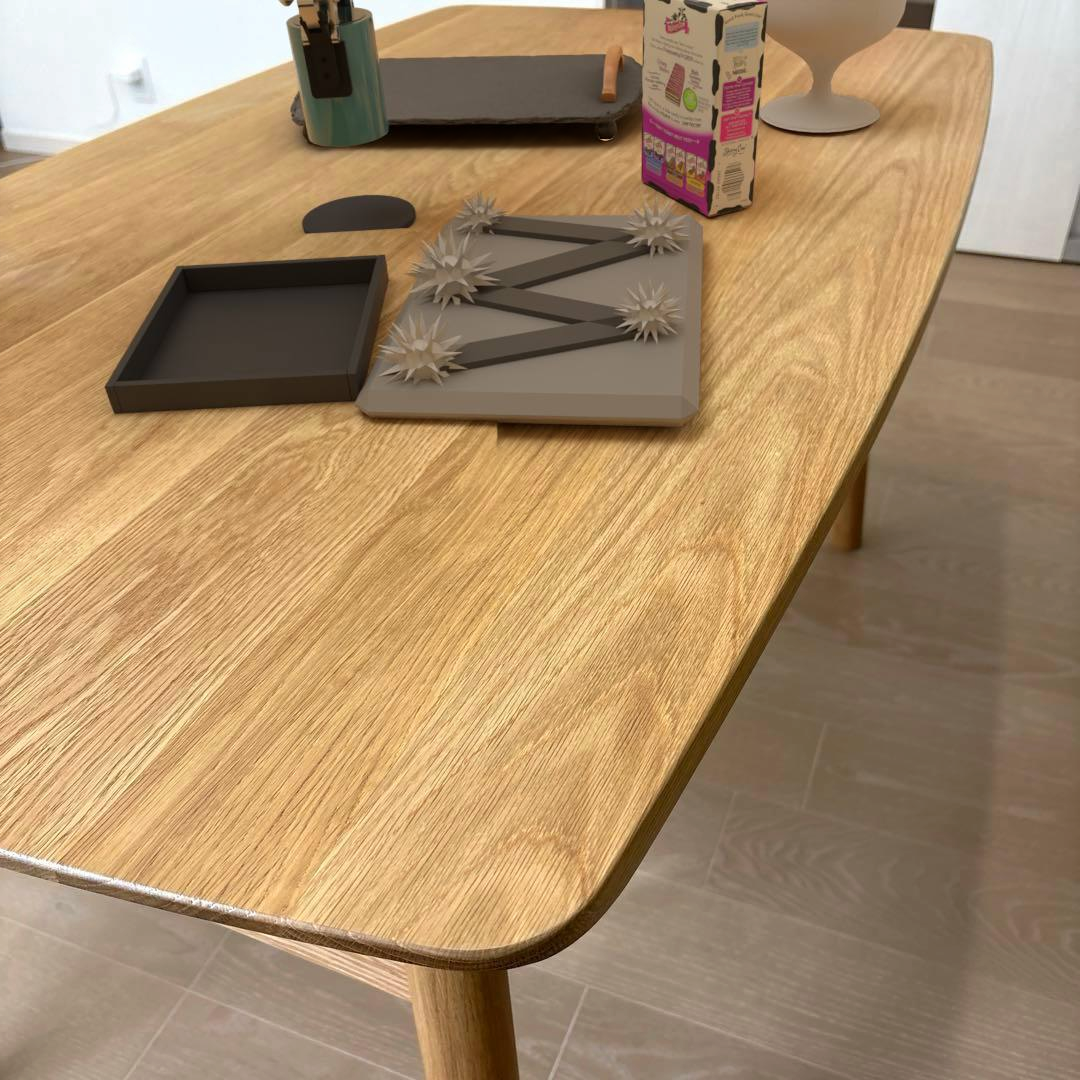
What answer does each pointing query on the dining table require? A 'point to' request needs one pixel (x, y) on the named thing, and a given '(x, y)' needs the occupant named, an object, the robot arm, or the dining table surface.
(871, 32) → the chalice
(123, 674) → the dining table surface
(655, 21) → the candy bar box
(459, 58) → the serving tray
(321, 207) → the coaster
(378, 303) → the tray
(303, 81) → the cup
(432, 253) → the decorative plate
